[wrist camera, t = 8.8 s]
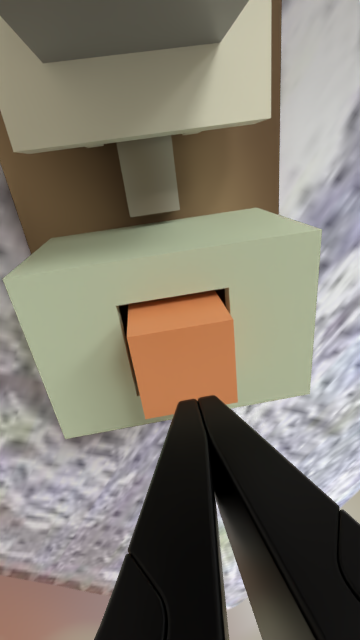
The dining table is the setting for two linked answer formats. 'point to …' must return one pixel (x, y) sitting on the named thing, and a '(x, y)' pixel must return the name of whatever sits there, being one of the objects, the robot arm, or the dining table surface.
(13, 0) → the carriage
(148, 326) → the button
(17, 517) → the dining table surface
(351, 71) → the dining table surface
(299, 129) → the dining table surface
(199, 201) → the rail track
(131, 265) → the cabinet
